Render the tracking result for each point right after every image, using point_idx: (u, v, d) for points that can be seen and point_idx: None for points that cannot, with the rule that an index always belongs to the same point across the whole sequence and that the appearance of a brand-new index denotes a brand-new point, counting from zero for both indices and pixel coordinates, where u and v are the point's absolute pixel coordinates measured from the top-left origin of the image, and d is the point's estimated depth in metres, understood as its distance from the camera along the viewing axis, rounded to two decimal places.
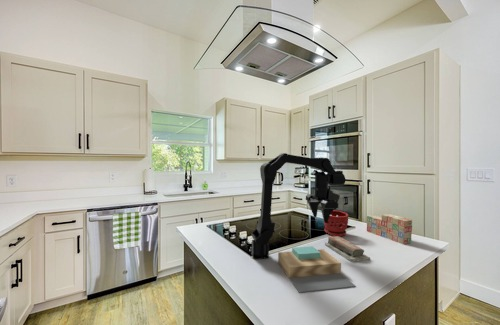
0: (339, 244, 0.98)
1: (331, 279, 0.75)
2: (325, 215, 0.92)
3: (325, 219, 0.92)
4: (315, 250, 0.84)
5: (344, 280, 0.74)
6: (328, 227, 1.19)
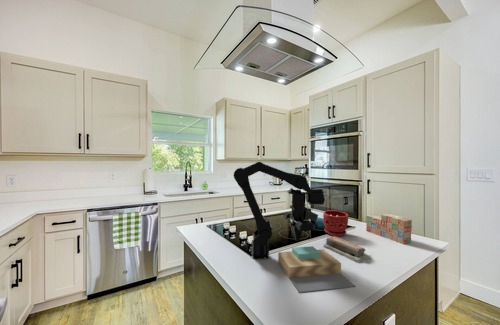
0: (340, 244, 0.97)
1: (331, 279, 0.75)
2: (296, 233, 0.91)
3: (297, 237, 0.91)
4: (315, 250, 0.84)
5: (344, 280, 0.74)
6: (328, 227, 1.19)
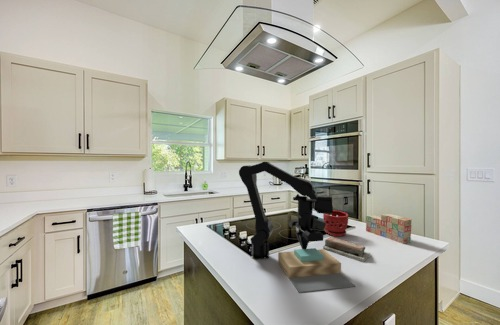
0: (341, 245, 0.96)
1: (331, 279, 0.75)
2: (303, 243, 0.85)
3: (303, 247, 0.85)
4: (318, 252, 0.83)
5: (344, 280, 0.74)
6: (328, 227, 1.19)
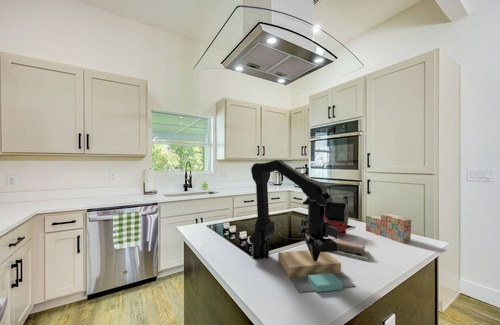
0: (343, 246, 0.96)
1: None
2: (314, 253, 0.76)
3: (314, 257, 0.77)
4: None
5: (344, 280, 0.74)
6: None
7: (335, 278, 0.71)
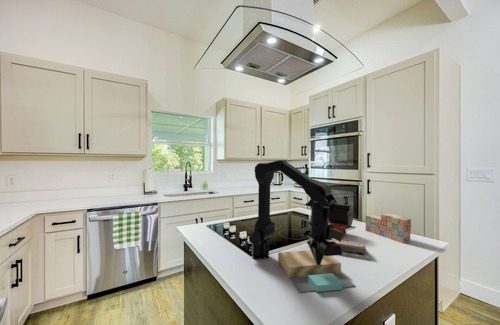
0: (344, 246, 0.95)
1: None
2: (318, 256, 0.74)
3: (318, 261, 0.74)
4: None
5: (344, 280, 0.74)
6: None
7: (335, 278, 0.71)
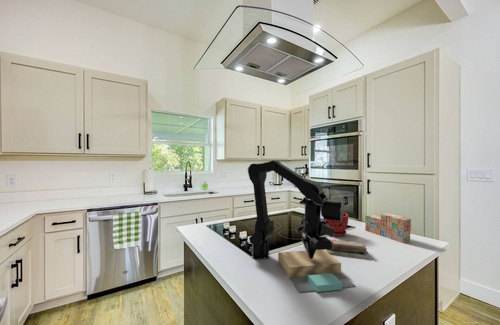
0: (345, 246, 0.95)
1: None
2: (310, 250, 0.79)
3: (310, 255, 0.79)
4: None
5: (344, 280, 0.74)
6: None
7: (335, 278, 0.71)
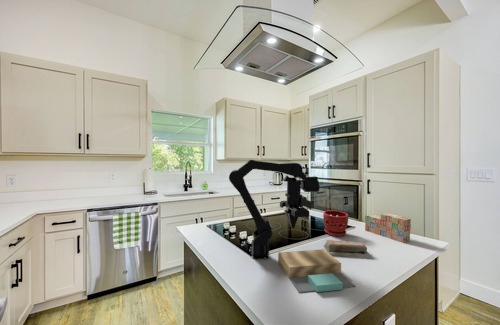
0: (347, 247, 0.95)
1: None
2: (292, 220, 0.91)
3: (292, 224, 0.92)
4: None
5: (344, 280, 0.74)
6: (328, 227, 1.19)
7: (335, 278, 0.71)
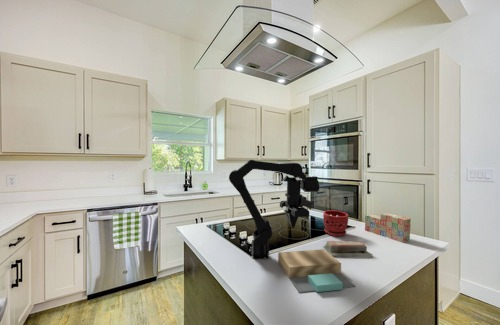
0: (348, 247, 0.95)
1: None
2: (292, 220, 0.91)
3: (292, 224, 0.92)
4: None
5: (344, 280, 0.74)
6: (328, 227, 1.19)
7: (335, 278, 0.71)
